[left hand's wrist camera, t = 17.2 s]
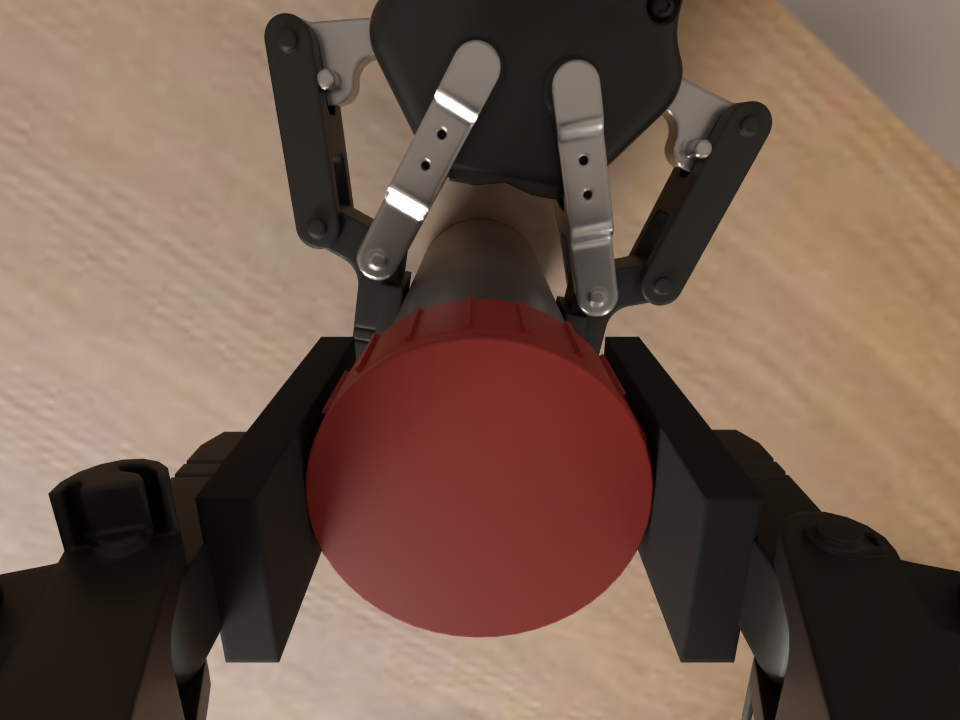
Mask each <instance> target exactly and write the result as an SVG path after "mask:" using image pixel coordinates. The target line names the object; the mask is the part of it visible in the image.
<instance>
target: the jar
mask: <svg viewBox="0 0 960 720" xmlns="http://www.w3.org/2000/svg"><path fill="white" fill-rule="evenodd" d="M470 295H471V296H472V299H491V300H503V301H508V302H512V303H517V304H518V301H519V300H521V301H524V303H525V306H528V307H531V308H533V309H536V310H539V311H542V312H544V313H546V314H548V315H550V316H552V317H554V318H556V319H558V320H560V321H561V322H562V323H565V321H564V319H563V317H562V314H561V312H560V310H559V308H558V306H557V303H556V301H555V299H554V297H553V294H552V292H551V290H550V288H549V286H548V283H547V281H546V279H545V277H544V275H543V272H542V270H541V268H540V266H539V264H538V261H537V259H536V257H535V255H534V253H533V251H532V249H531V247H530V246H529V244H528V243H527V242H526V240H525V239H524V238H523V237H522V236H521V235H520V234H519V233H518V232H516V231H515V230H513V229H512V228H510V227H509V226H506V225H504V224H502V223H499V222H496V221H492V220H486V219H474V220H467V221H463V222H460V223H457V224H455V225H453V226H451V227H449V228H448V229H446V230H445V231H443V232H442V233H441V234H440V235H439V236H438V237H436V239H435V240H434V241H433V242H432V243H431V245H430V247H429V248H428V250H427V252H426V254H425V256H424V258H423V260H422V263H421V265H420V267H419V269H418V271H417V273H416V276H415V278H414V280H413V282H412V284H411V287H410V289H409V291H408V293H407V295H406V297H405V300H404V302H403V304H402V306H401V308H400V311H399V313H398V315H397V317H396V319H395V322H394V324H395V323H397V322H398V321H400V320H401V319H403V318H405V317H407V316H409V315H411V314H413V311H414V309H415V308H417V307H420V308H421V310H422V309H425V308H428V307H431V306H434V305H438V304H441V303H446V302H452V301H457V300H465V297H466V296H470Z"/></svg>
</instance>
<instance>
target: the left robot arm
mask: <svg viewBox="0 0 960 720" xmlns="http://www.w3.org/2000/svg"><path fill="white" fill-rule="evenodd" d="M604 356H605V357H606V359H607V361H608V363H609V364H610V366H611V368H612V370H613V372H614V373H615V375H616V377H617V379H618V380H619V382H620V384H621V386H622V388H623V389H624V391H625V393H626V394H625V395H623V396H624V397H625V399H626V400H627V402H628V404H629V406H630V408H631V410H632V411H633V413H634V415H635V417H636V419H637V420H638V422H639V424H640V426H641V428H642V429H643V431H644V433H645V435H646V437H647V442H646V444H647V447H648V451H649V456H650V460H651V464H652V472H653V483H654V487H653V503H652V509H651V513H650V518H649V522H648V526H647V529H646V531H645V534H644V537H643V539H642V542H641V544H640V546H639V548H638V551H639V554H640V556H641V559H642V562H643V564H644V567H645V569H646V572H647V575H648V577H649V580H650V583H651V585H652V588H653V590H654V593H655V596H656V598H657V601H658V604H659V606H660V609H661V611H662V614H663V617H664V619H665V622H666V625H667V627H668V630H669V632H670V635H671V638H672V640H673V643H674V646H675V648H676V651H677V653H678V656H679V659H680V661H681V662H734V660H735V655H736V650H737V644H738V639H739V634H740V630H741V631H742V633H743V635H744V637H745V639H746V641H747V643H748V645H749V647H750V649H751V650H752V652H753V654H754V659H753V664H752V669H751V674H750V679H749V684H748V689H747V694H746V699H745V704H744V709H743V714H742V720H751V719H752V714H753V715H754V720H960V572H959V571H954V570H948V569H943V568H938V567H933V566H928V565H922V564H917V563H912V562H908V561H904V560H901V559H900V557H899V556H898V554H897V552H896V550H895V549H894V548H893V547H892V545H891V544H890V543H889V542H888V541H887V539H886V538H885V537H883V536H882V535H880V534H879V533H877V532H876V531H874V530H873V529H871V528H870V527H868V526H866V525H864V524H862V523H859V522H857V521H855V520H852V519H850V518H847V517H844V516H840V515H836V514H831V513H827V512H821V511H820V509H819V508H818V507H817V506H816V505H815V504H814V503H813V502H812V501H811V499H810V498H809V497H808V496H807V495H806V494H805V493H804V492H803V491H802V490H801V488H800V487H799V486H798V485H797V484H796V483H795V482H794V481H793V480H792V479H791V477H790V476H789V475H786V474H785V471H784V470H783V469H782V468H781V466H780V465H779V464H778V463H777V462H774V459H773V458H772V456H771V455H770V454H769V453H768V452H767V451H766V450H765V449H764V448H763V447H762V445H761V444H760V443H758V442H756V441H755V440H753V439H751V438H749V437H748V436H746V435H744V434H742V433H741V432H739V431H737V430H712V429H711V428H710V427H709V426H708V424H707V423H706V422H705V420H704V419H703V418H702V417H701V415H700V414H699V413H698V412H697V410H696V409H695V408H694V407H693V405H692V404H691V403H690V401H689V400H688V399H687V398H686V396H685V395H684V394H683V393H682V391H681V390H680V389H679V387H678V386H677V385H676V384H675V382H674V381H673V380H672V379H671V377H670V376H669V375H668V373H667V372H666V371H665V370H664V368H663V367H662V366H661V365H660V363H659V362H658V361H657V359H656V358H655V357H654V356H653V354H652V353H651V352H650V351H649V349H648V348H647V347H646V346H645V344H644V343H643V342H642V340H641V339H640V338H639V337H605V350H604ZM355 362H356V350H355V337H321V338H320V339H319V340H318V342H317V343H316V344H315V345H314V347H313V348H312V349H311V351H310V352H309V353H308V354H307V356H306V357H305V358H304V359H303V361H302V362H301V363H300V365H299V366H298V367H297V368H296V370H295V371H294V372H293V373H292V375H291V376H290V377H289V379H288V380H287V381H286V382H285V384H284V385H283V386H282V387H281V389H280V390H279V391H278V393H277V394H276V395H275V396H274V398H273V399H272V400H271V401H270V403H269V404H268V405H267V407H266V408H265V409H264V410H263V412H262V413H261V414H260V415H259V417H258V418H257V419H256V420H255V422H254V423H253V424H252V426H251V427H250V428H249V429H248V431H247V432H223V433H221V434H220V435H218V436H216V437H214V438H213V439H211V440H209V441H207V442H206V443H204V444H202V445H201V446H200V447H199V448H198V449H197V450H196V451H195V452H194V454H193V455H192V456H191V457H190V458H189V459H188V460H187V464H184V465H183V466H182V467H181V468H180V469H179V470H178V471H177V472H176V474H175V477H172V478H171V479H170V476H169V471H168V468H167V467H166V466H164V465H163V464H161V463H160V462H158V461H152V460H147V459H128V460H119V461H114V462H109V463H105V464H100V465H97V466H94V467H92V468H89V469H86V470H83V471H80V472H78V473H76V474H74V475H73V476H71V477H69V478H67V479H65V480H64V481H62V482H60V483H59V484H58V485H57V486H56V487H55V488H54V489H53V490H52V491H51V492H50V493H49V498H50V501H51V505H52V508H53V512H54V515H55V519H56V522H57V526H58V529H59V533H60V537H61V540H62V544H63V547H64V553H63V555H62V557H61V559H60V560H59V562H58V563H56V564H52V565H47V566H42V567H37V568H32V569H26V570H21V571H16V572H11V573H6V574H1V575H0V720H206V716H207V709H208V702H209V694H210V687H211V683H210V675H209V669H208V664H207V659H206V658H207V656H208V654H209V652H210V650H211V648H212V646H213V644H214V642H215V640H216V638H217V637H218V635H219V633H220V634H221V639H222V645H223V650H224V655H225V660H226V662H279V661H280V659H281V656H282V653H283V651H284V648H285V646H286V643H287V640H288V638H289V635H290V632H291V630H292V627H293V625H294V622H295V619H296V617H297V614H298V611H299V609H300V606H301V604H302V601H303V598H304V596H305V593H306V590H307V588H308V585H309V583H310V580H311V577H312V575H313V572H314V569H315V567H316V564H317V562H318V559H319V556H320V554H321V551H322V550H321V548H320V546H319V544H318V542H317V540H316V538H315V535H314V532H313V529H312V526H311V523H310V520H309V516H308V509H307V503H306V491H305V477H306V470H307V463H308V457H309V454H310V450H311V447H312V444H313V440H314V438H315V436H316V434H317V431H318V429H319V427H320V425H321V423H322V421H323V419H324V417H325V415H326V414H324V413H322V411H323V409H324V407H325V405H326V403H327V402H328V400H329V398H330V396H331V395H332V393H333V391H334V389H335V388H336V386H337V384H338V382H339V381H340V379H341V377H342V375H343V374H344V372H345V370H346V371H348V372H350V370H351V368H352V367H353V365H354V364H355Z"/></svg>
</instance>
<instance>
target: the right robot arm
mask: <svg viewBox="0 0 960 720" xmlns="http://www.w3.org/2000/svg"><path fill="white" fill-rule="evenodd" d="M682 1H683V0H379V1H378V2H377V4H376V6H375V8H374V10H373V12H372V15H371V18H361V19H348V20H335V21H321V22H307V21H305V20H303V19H301V18H299V17H297V16H295V15H293V14H288V13H282V14H278V15H276V16H275V17H273V18H272V19H271V20H270V21H269V23H268V24H267V26H266V29H265V36H264V38H265V46H266V52H267V57H268V63H269V69H270V75H271V81H272V87H273V93H274V99H275V105H276V111H277V117H278V123H279V129H280V135H281V141H282V147H283V153H284V159H285V165H286V170H287V176H288V182H289V188H290V194H291V200H292V206H293V212H294V218H295V224H296V230H297V233H298V235H299V237H300V239H301V240H302V241H303V242H304V243H305V244H306V245H308V246H309V247H312V248H316V249H323V248H325V249H327V250H329V251H330V252H332V253H334V254H336V255H338V256H339V257H341V258H343V259H345V260H346V261H348V262H349V263H350V264H351V265H352V266H353V268H354V269H355V271H356V273H357V276H358V295H357V304H356V313H355V323H354V332H353V337H355V350H356V361H357V359H358V358H359V356H360V355H361V354H362V352H363V351H364V350H365V348H366V347H367V345H368V343H369V341H370V339H371V337H372V336H373V335H374V334H375V333H377V334H378V335H380V334H381V333H383V332H384V331H385V330H386V329H387V328H389V327H390V326H392V325H393V324H394V322H395V319H396V317H397V315H398V313H399V311H400V308H401V306H402V304H403V302H404V300H405V297H406V295H407V293H408V291H409V287H410V279H411V272H408V271H405V267H406V259H407V251H408V249H409V247H410V246H411V244H412V242H413V240H414V238H415V236H416V234H417V232H418V231H419V229H420V227H421V225H422V223H423V221H424V219H425V218H426V216H427V214H428V212H429V210H430V208H431V207H432V205H433V203H434V201H435V199H436V198H437V196H438V194H439V192H440V190H441V188H442V186H443V184H444V183H445V181H446V179H447V177H449V178H450V181H455V182H461V183H466V184H472V185H484V184H495V183H507V184H510V185H512V186H514V187H516V188H518V189H520V190H522V191H524V192H526V193H528V194H530V195H534V196H539V197H545V198H551V199H553V201H554V208H555V215H556V221H557V225H558V229H559V233H560V240H561V247H562V254H563V261H564V269H565V276H566V283H567V289H566V294H565V297H560V296H557V299H556V303H557V306H558V308H559V310H560V312H561V314H562V317H563V319H564V321H565V322H566V321H568V322H570V323H571V325H572V327H573V329H574V331H575V332H577V333H578V334H579V335H580V336H581V337H582V338H583V339H584V340H585V341H586V342H587V343H588V344H590V346H591V347H592V348H593V349H594V351H595V352H596V353H597V354H598V355H599V353H600V349H601V345H602V341H603V337H604V333H605V329H606V325H607V323H608V321H609V319H610V317H611V316H612V315H613V314H614V313H615V312H616V311H618V310H620V309H621V308H624V307H627V306H632V305H638V304H644V303H649V302H650V303H652V304H654V305H667V304H669V303H671V302H673V301H674V300H675V299H676V298H677V297H678V296H679V295H680V293H681V291H682V289H683V288H684V286H685V284H686V282H687V280H688V279H689V277H690V275H691V273H692V271H693V270H694V268H695V266H696V264H697V262H698V261H699V259H700V257H701V255H702V253H703V252H704V250H705V248H706V246H707V244H708V243H709V241H710V239H711V237H712V236H713V234H714V232H715V230H716V228H717V227H718V225H719V223H720V221H721V219H722V218H723V216H724V214H725V212H726V210H727V209H728V207H729V205H730V203H731V201H732V200H733V198H734V196H735V194H736V192H737V191H738V189H739V187H740V185H741V183H742V182H743V180H744V178H745V176H746V174H747V173H748V171H749V169H750V167H751V166H752V164H753V162H754V160H755V158H756V157H757V155H758V153H759V151H760V149H761V148H762V146H763V144H764V142H765V140H766V139H767V137H768V135H769V133H770V130H771V127H772V117H771V113H770V111H769V110H768V108H767V107H766V106H765V105H763V104H762V103H760V102H755V101H750V102H742V103H732V102H730V101H728V100H726V99H724V98H722V97H720V96H718V95H716V94H714V93H712V92H710V91H708V90H706V89H704V88H702V87H699V86H697V85H695V84H693V83H691V82H689V81H687V80H685V79H683V78H682V72H683V71H682V61H681V57H680V53H679V48H678V41H677V24H678V17H679V12H680V8H681V4H682ZM375 60H377V61H378V63H379V65H380V67H381V69H382V71H383V73H384V75H385V77H386V79H387V81H388V83H389V85H390V87H391V89H392V91H393V93H394V95H395V97H396V99H397V101H398V103H399V105H400V107H401V109H402V111H403V113H404V115H405V117H406V119H407V121H408V123H409V125H410V127H411V129H412V131H413V133H414V138H413V140H412V142H411V144H410V146H409V148H408V150H407V152H406V154H405V156H404V158H403V160H402V162H401V164H400V166H399V167H398V169H397V171H396V173H395V175H394V177H393V179H392V181H391V183H390V185H389V188H388V190H387V193H386V196H385V198H384V201H383V203H382V205H381V206H380V208H379V210H378V212H377V214H376V216H375V218H374V219H372V218H371V217H369V216H367V215H365V214H363V213H362V212H360V211H358V210H356V209H355V208H354V206H353V199H352V191H351V184H350V176H349V169H348V161H347V154H346V146H345V139H344V132H343V124H342V117H341V109H340V107H342V106H346V105H349V104H351V103H352V102H353V101H354V100H355V99H356V97H357V95H358V93H359V88H360V76H361V73H362V71H363V69H364V68H365V66H366V65H367V64H369V63H370V62H372V61H375ZM661 115H662V116H663V117H664V118H665V119H666V121H667V124H668V129H669V134H668V138H667V141H666V144H665V156H666V159H667V161H668V162H669V164H670V165H672V166H673V167H674V169H673V171H672V173H671V175H670V177H669V178H668V180H667V182H666V184H665V186H664V188H663V190H662V192H661V194H660V196H659V198H658V200H657V202H656V204H655V206H654V208H653V210H652V211H651V213H650V215H649V217H648V219H647V221H646V223H645V225H644V227H643V229H642V231H641V233H640V235H639V237H638V239H637V241H636V242H635V244H634V246H633V248H632V250H631V252H630V254H629V256H627V257H622V258H616V259H614V254H613V245H612V235H613V229H614V225H613V214H612V205H611V196H610V186H609V177H608V168H607V166H608V165H609V164H610V163H612V162H613V161H614V160H615V159H616V158H617V157H618V156H619V155H620V154H621V153H622V152H623V151H624V150H625V149H626V148H627V147H628V146H629V145H630V144H631V143H632V142H634V141H635V140H636V139H637V138H638V137H639V136H640V135H641V134H642V133H643V132H644V131H645V130H646V129H647V128H648V127H649V126H650V125H651V124H652V123H653V122H654V121H656V120H657V119H658V118H659V117H660V116H661Z"/></svg>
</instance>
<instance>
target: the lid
mask: <svg viewBox="0 0 960 720" xmlns="http://www.w3.org/2000/svg"><path fill="white" fill-rule="evenodd" d="M625 394H626V393H625V391H624V389H623V388H622V386H621V384H620V382H619V380H618V379H617V377H616V375H615V373H614V372H613V370H612V368H611V366H610V364H609V363H608V361H607V359H606V357H605V356H604V355H603V354H602V355H600V356H599V355H598V354H597V353H596V352H595V351H594V349H593V348H592V347H591V346H590V344H588V343H587V342H586V341H585V340H584V339H583V338H582V337H581V336H580V335H579V334H578V333H577V332H575V331H574V329H573V327H572V325H571V323H570V322H568V321H566V322H565V323H562V322H561V321H560V320H558V319H556V318H554V317H552V316H550V315H548V314H546V313H544V312H542V311H539V310H536V309H533V308H531V307H528V306H525V303H524V301H521V300H519V301H518V304H517V303H512V302H508V301H503V300H491V299H472V296H471V295H470V296H466V297H465V300H457V301H452V302H446V303H441V304H438V305H434V306H431V307H428V308H425V309H422V310H421V308H420V307H417V308H415V309H414V311H413V314H411V315H409V316H407V317H405V318H403V319H401V320H400V321H398V322H397V323H395V324H393V325H392V326H390V327H389V328H387V329H386V330H385V331H384V332H383V333H381V334H380V335H378V334H377V333H375V334H374V335H373V336H372V337H371V339H370V341H369V343H368V345H367V347H366V348H365V350H364V351H363V352H362V354H361V355H360V356H359V358H358V359H357V361H356V362H355V364H354V365H353V367H352V368H351V370H350V372H348V371H346V370H345V372H344V374H343V375H342V377H341V379H340V381H339V382H338V384H337V386H336V388H335V389H334V391H333V393H332V395H331V396H330V398H329V400H328V402H327V403H326V405H325V407H324V409H323V411H322V413H324V414H326V415H325V417H324V419H323V421H322V423H321V425H320V427H319V429H318V431H317V434H316V436H315V438H314V440H313V444H312V447H311V450H310V454H309V457H308V463H307V470H306V477H305V491H306V503H307V509H308V516H309V520H310V523H311V526H312V529H313V532H314V535H315V538H316V540H317V542H318V544H319V546H320V548H321V550H322V552H323V554H324V556H325V557H326V559H327V560H328V562H329V563H330V565H331V566H332V568H333V569H334V571H335V572H336V573H337V574H338V575H339V576H340V577H341V579H342V580H343V581H344V582H345V583H346V584H347V585H348V586H349V587H350V588H351V589H352V590H353V591H354V592H356V593H357V594H358V595H359V596H360V597H361V598H362V599H364V600H365V601H367V602H368V603H370V604H371V605H372V606H374V607H375V608H377V609H378V610H380V611H382V612H384V613H386V614H387V615H389V616H391V617H393V618H395V619H397V620H399V621H402V622H404V623H407V624H409V625H412V626H414V627H417V628H421V629H424V630H428V631H432V632H435V633H441V634H447V635H452V636H463V637H498V636H505V635H513V634H519V633H523V632H527V631H531V630H535V629H538V628H541V627H544V626H547V625H549V624H552V623H555V622H557V621H559V620H561V619H563V618H565V617H568V616H570V615H572V614H574V613H575V612H577V611H579V610H580V609H582V608H583V607H585V606H586V605H588V604H590V603H591V602H592V601H594V600H595V599H596V598H597V597H598V596H600V595H601V594H602V593H603V592H605V591H606V590H607V589H608V588H609V587H610V586H611V585H612V584H613V583H614V582H615V581H616V579H617V578H618V577H619V576H620V575H621V574H622V572H623V571H624V570H625V568H626V567H627V566H628V564H629V563H630V562H631V560H632V559H633V557H634V555H635V553H636V551H637V549H638V548H639V546H640V544H641V542H642V539H643V537H644V534H645V531H646V529H647V526H648V522H649V518H650V513H651V509H652V503H653V487H654V483H653V472H652V464H651V460H650V456H649V451H648V447H647V444H646V442H647V437H646V435H645V433H644V431H643V429H642V428H641V426H640V424H639V422H638V420H637V419H636V417H635V415H634V413H633V411H632V410H631V408H630V406H629V404H628V402H627V400H626V399H625V397H624V396H623V395H625Z"/></svg>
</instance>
